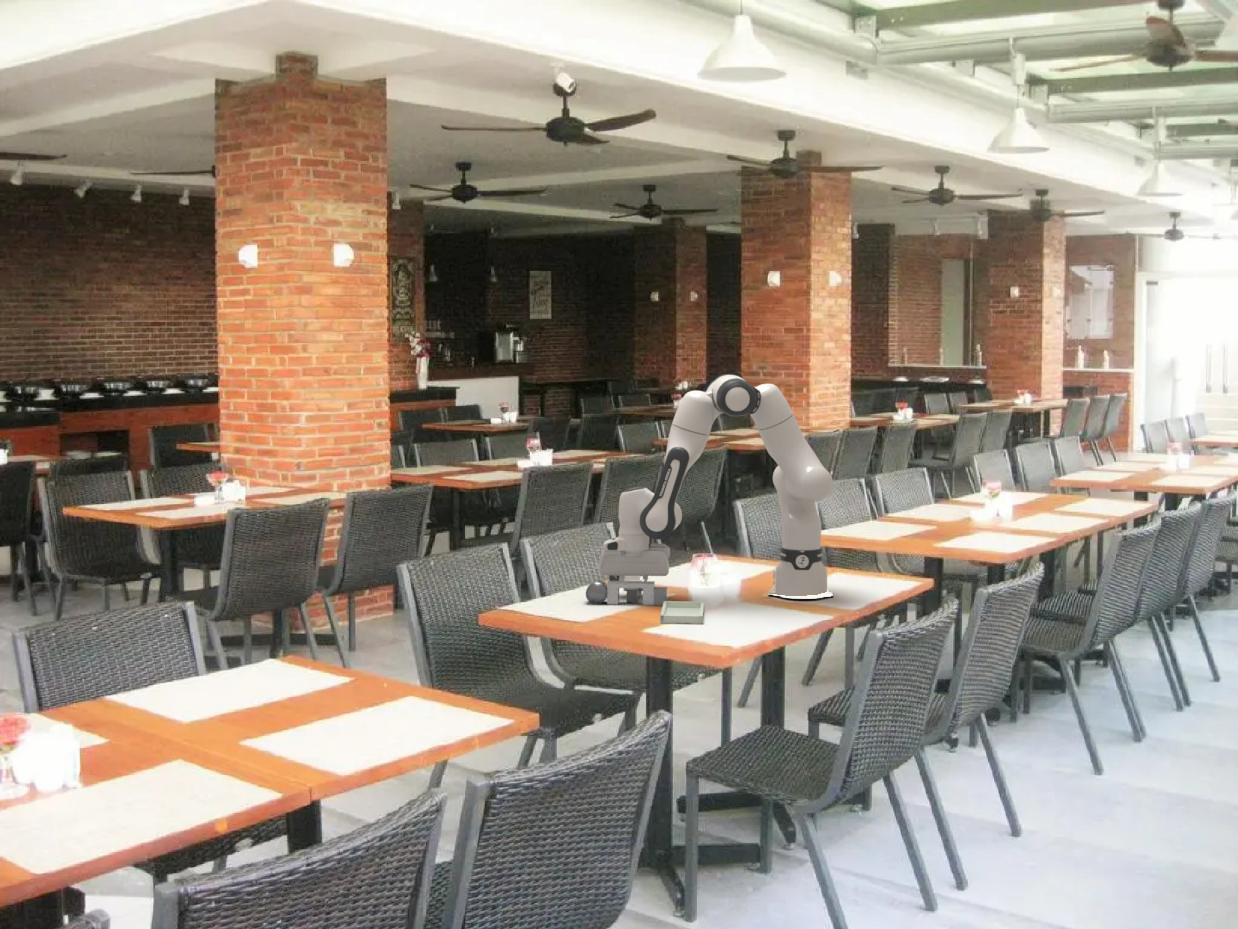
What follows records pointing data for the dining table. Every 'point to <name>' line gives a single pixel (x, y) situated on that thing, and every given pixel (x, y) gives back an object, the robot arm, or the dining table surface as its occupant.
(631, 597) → the dark grey rectangular bar
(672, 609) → the tray
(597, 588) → the housing
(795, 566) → the robot arm
